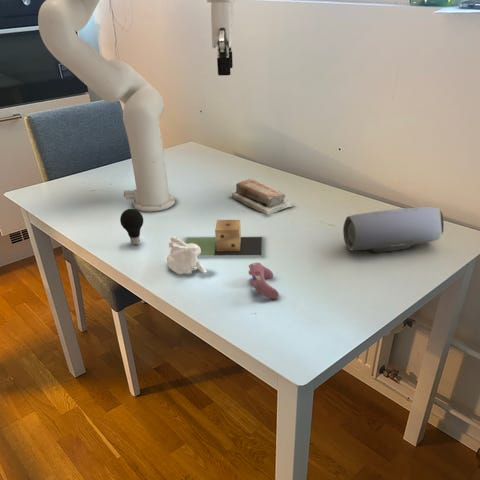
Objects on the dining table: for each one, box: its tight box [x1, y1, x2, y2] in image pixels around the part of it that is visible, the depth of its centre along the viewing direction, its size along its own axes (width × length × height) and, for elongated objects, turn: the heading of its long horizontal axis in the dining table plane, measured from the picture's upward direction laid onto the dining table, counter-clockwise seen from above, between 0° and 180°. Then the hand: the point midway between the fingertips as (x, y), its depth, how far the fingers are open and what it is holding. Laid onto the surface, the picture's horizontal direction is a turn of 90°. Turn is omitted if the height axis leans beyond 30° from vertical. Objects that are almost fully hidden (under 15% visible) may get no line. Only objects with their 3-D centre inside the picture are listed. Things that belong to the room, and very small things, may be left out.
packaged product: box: [231, 178, 293, 215], centre depth 152 cm, size 18×5×10 cm
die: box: [214, 219, 242, 251], centre depth 128 cm, size 6×6×6 cm
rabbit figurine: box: [166, 236, 208, 275], centre depth 118 cm, size 12×8×10 cm, turn 49°
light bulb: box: [119, 208, 144, 246], centre depth 130 cm, size 6×6×10 cm
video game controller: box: [248, 261, 280, 300], centre depth 112 cm, size 10×5×7 cm, turn 5°
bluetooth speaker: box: [342, 206, 445, 253], centre depth 125 cm, size 23×9×10 cm, turn 100°
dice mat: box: [185, 236, 263, 257], centre depth 130 cm, size 20×10×1 cm, turn 87°
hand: (225, 71), depth 132 cm, fingers open, 9 cm apart
